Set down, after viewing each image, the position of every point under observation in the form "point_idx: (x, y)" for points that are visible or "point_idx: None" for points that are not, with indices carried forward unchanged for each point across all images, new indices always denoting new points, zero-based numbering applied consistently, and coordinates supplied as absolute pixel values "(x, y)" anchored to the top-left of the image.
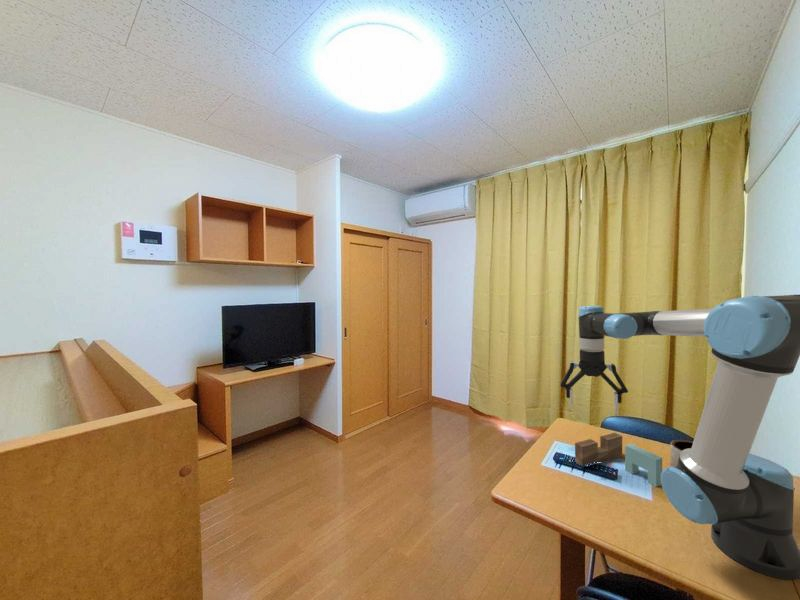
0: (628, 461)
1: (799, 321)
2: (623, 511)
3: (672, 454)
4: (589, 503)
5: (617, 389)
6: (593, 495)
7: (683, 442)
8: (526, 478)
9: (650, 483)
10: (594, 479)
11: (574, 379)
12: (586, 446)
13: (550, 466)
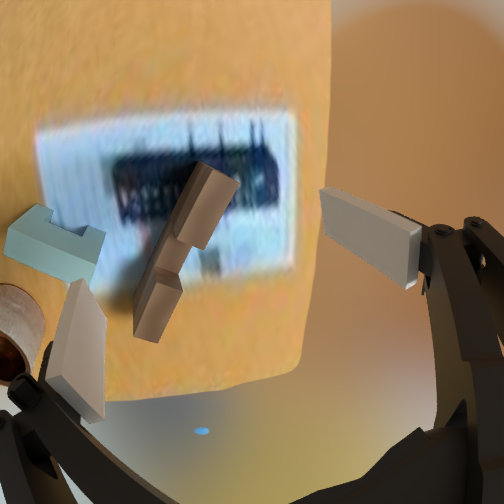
0: (93, 241)
1: None
2: (82, 38)
3: (23, 326)
4: (152, 15)
5: (42, 422)
6: (148, 50)
7: None
8: (303, 33)
9: (47, 208)
10: (158, 125)
11: (482, 295)
12: (201, 188)
13: (272, 116)
